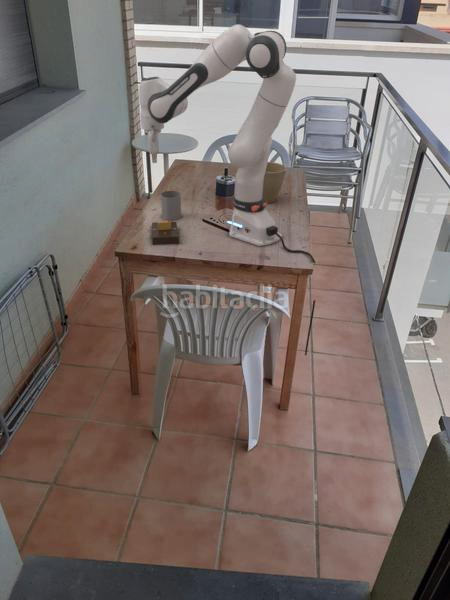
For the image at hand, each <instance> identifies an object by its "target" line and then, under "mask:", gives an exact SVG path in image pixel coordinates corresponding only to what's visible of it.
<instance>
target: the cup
mask: <svg viewBox="0 0 450 600" xmlns="http://www.w3.org/2000/svg"><path fill="white" fill-rule="evenodd" d="M181 194H182V193H181V192H180V191H178V190H165V191H164V190H163V191H162V192H161V193H160V205H161V206H160V207H161V218H162V219H163V220H165V221H168V220H170V221H177V220H179V219H180V218H182V195H181Z"/></svg>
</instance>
